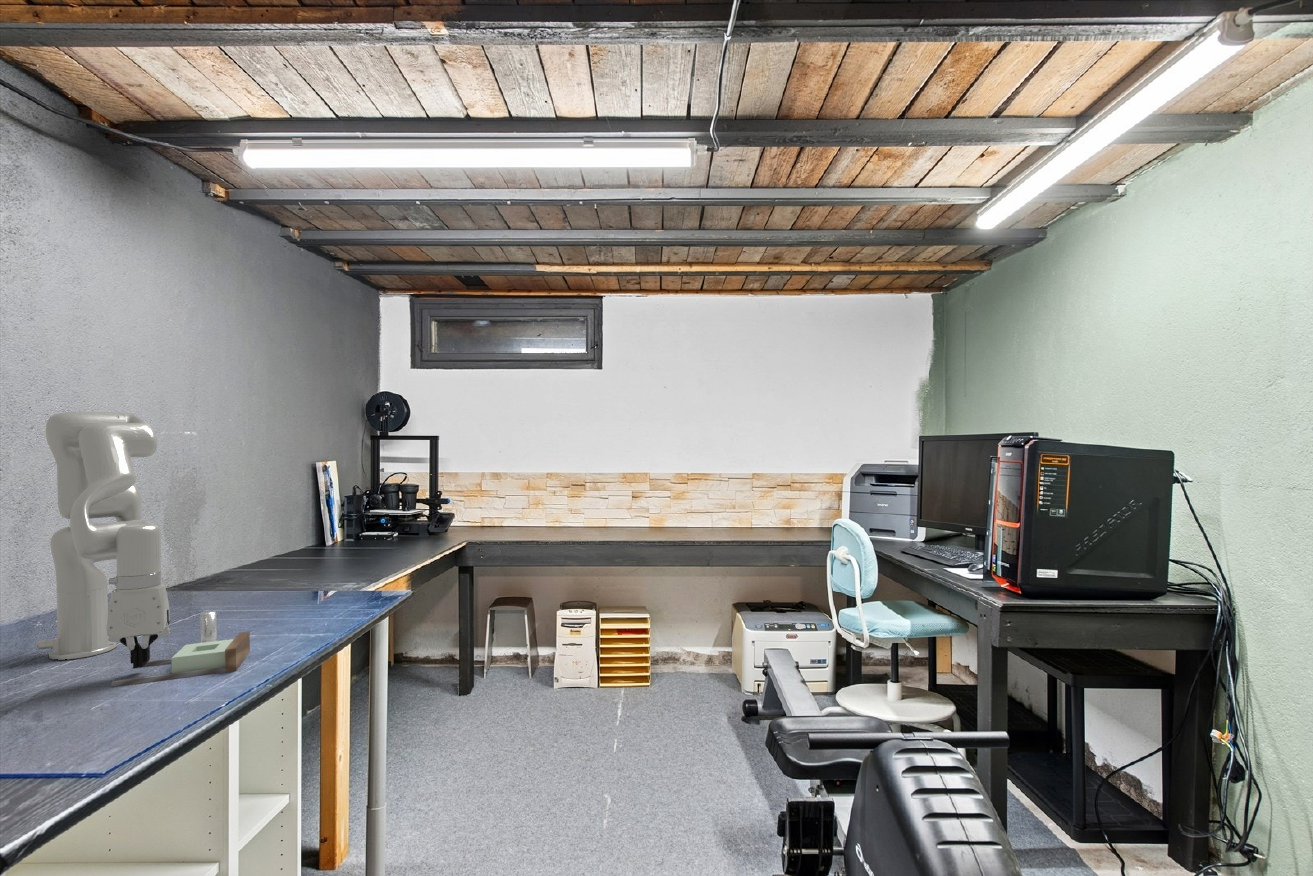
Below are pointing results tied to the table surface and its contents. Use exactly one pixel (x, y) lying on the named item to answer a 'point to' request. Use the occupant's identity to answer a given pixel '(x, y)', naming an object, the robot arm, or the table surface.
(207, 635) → the grey round-ended peg
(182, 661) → the sliding block
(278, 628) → the table surface
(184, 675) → the rail board
